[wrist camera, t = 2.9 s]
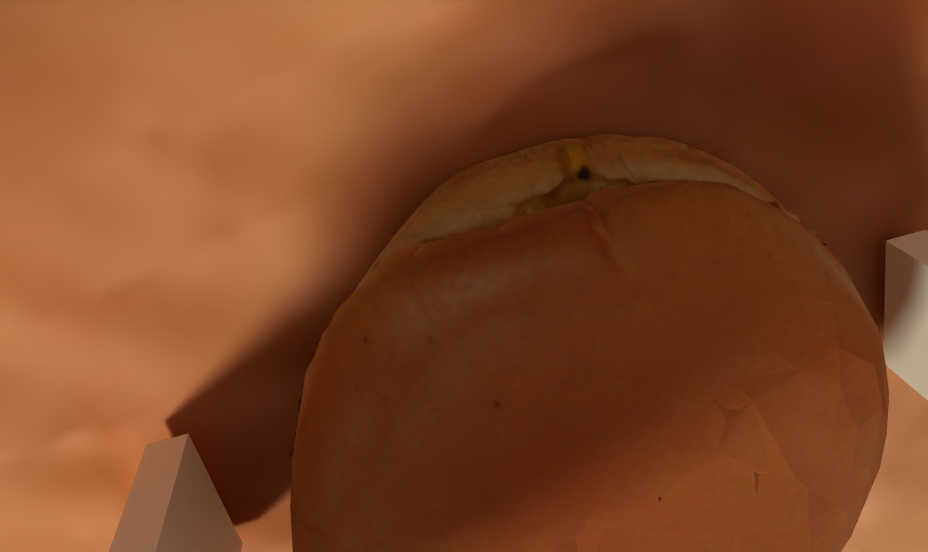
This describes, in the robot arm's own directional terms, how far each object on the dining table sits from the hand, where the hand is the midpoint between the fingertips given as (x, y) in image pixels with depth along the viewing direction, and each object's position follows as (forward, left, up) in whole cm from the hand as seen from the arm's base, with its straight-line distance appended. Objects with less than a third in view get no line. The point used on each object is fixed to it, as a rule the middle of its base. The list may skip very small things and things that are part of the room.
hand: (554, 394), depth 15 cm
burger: (0, 0, -1) cm, 1 cm away
